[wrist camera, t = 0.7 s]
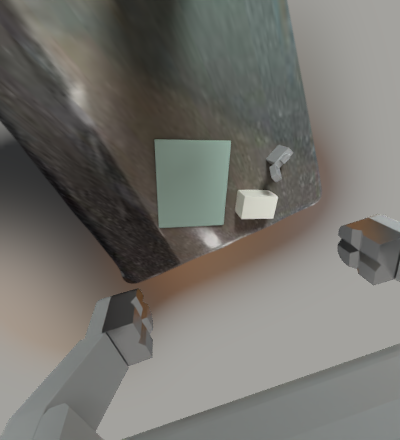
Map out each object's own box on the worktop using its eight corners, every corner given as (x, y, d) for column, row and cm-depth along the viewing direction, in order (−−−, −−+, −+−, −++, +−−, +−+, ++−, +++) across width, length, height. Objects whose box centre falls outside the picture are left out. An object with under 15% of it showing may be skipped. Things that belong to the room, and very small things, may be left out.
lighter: (278, 144, 50) (298, 150, 43) (283, 149, 51) (303, 155, 44) (256, 169, 52) (272, 178, 44) (261, 173, 52) (277, 183, 45)
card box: (237, 189, 53) (244, 196, 49) (268, 189, 55) (278, 196, 50) (234, 210, 55) (241, 219, 51) (264, 210, 57) (273, 218, 53)
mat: (154, 139, 45) (154, 139, 44) (230, 140, 48) (231, 141, 47) (158, 226, 53) (158, 228, 53) (222, 223, 56) (223, 224, 56)
